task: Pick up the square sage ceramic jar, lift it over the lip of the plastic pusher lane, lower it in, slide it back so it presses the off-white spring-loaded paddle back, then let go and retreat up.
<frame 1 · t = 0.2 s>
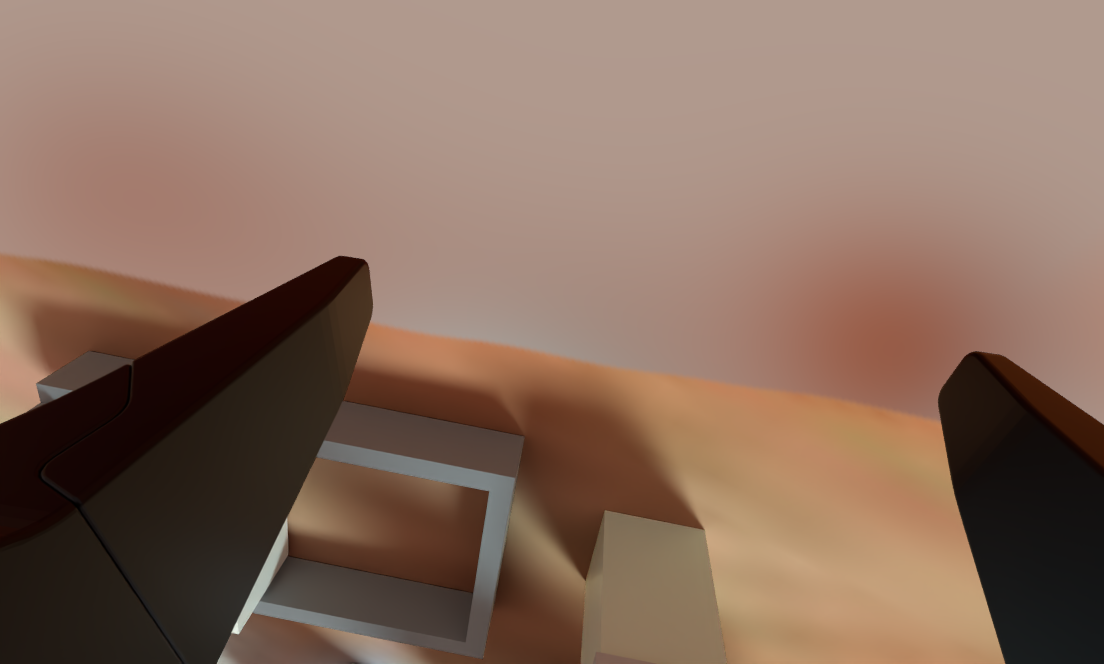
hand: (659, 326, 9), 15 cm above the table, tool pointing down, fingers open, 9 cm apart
sage jar: (642, 556, 32), on the table
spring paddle: (184, 509, 30), point 3 cm above the table, slide at 0.0 cm
pusher lane: (307, 490, 32), on the table
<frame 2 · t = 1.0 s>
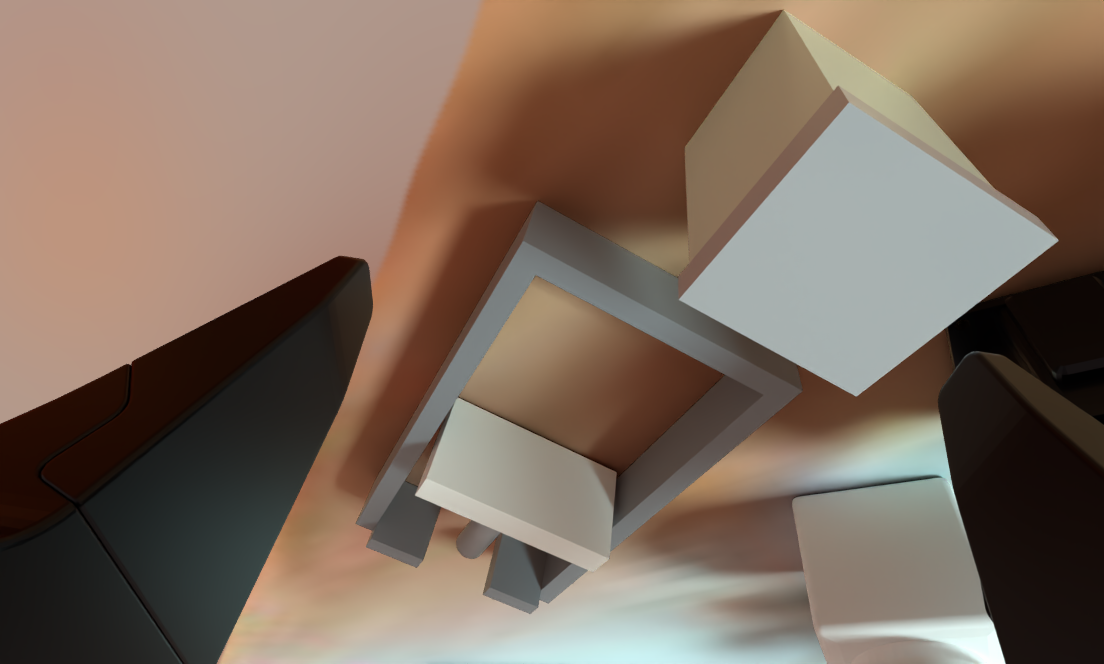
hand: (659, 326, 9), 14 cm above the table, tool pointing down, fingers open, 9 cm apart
sage jar: (792, 123, 21), on the table
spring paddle: (498, 512, 32), point 3 cm above the table, slide at 0.0 cm
medicine bottle: (874, 523, 33), on the table
pusher lane: (548, 421, 31), on the table
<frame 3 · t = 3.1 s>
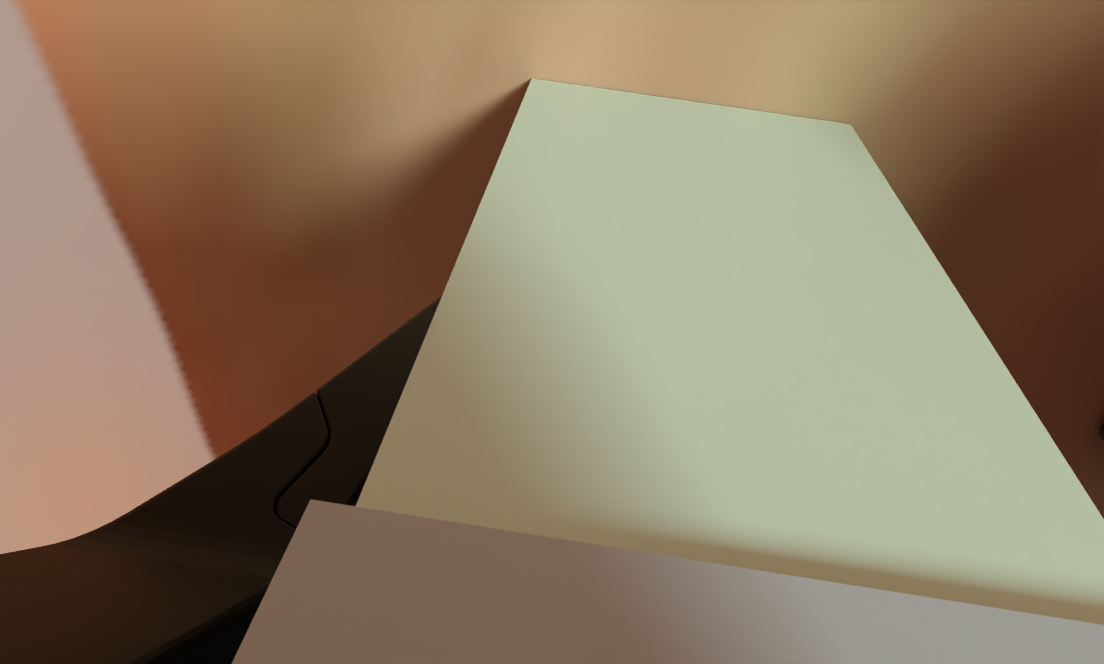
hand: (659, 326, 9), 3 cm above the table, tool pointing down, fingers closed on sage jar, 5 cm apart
sage jar: (656, 237, 11), on the table, touching gripper
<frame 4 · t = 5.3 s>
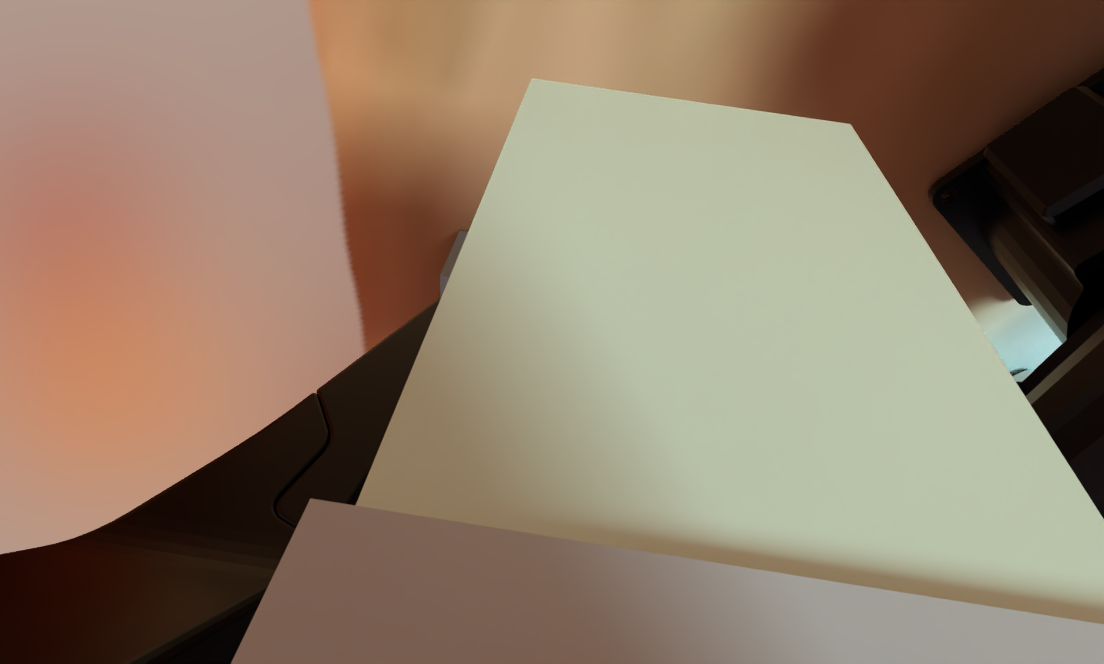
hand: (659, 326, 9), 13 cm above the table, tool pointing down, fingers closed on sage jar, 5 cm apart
sage jar: (656, 237, 11), point 10 cm above the table, touching gripper
pusher lane: (579, 433, 31), on the table
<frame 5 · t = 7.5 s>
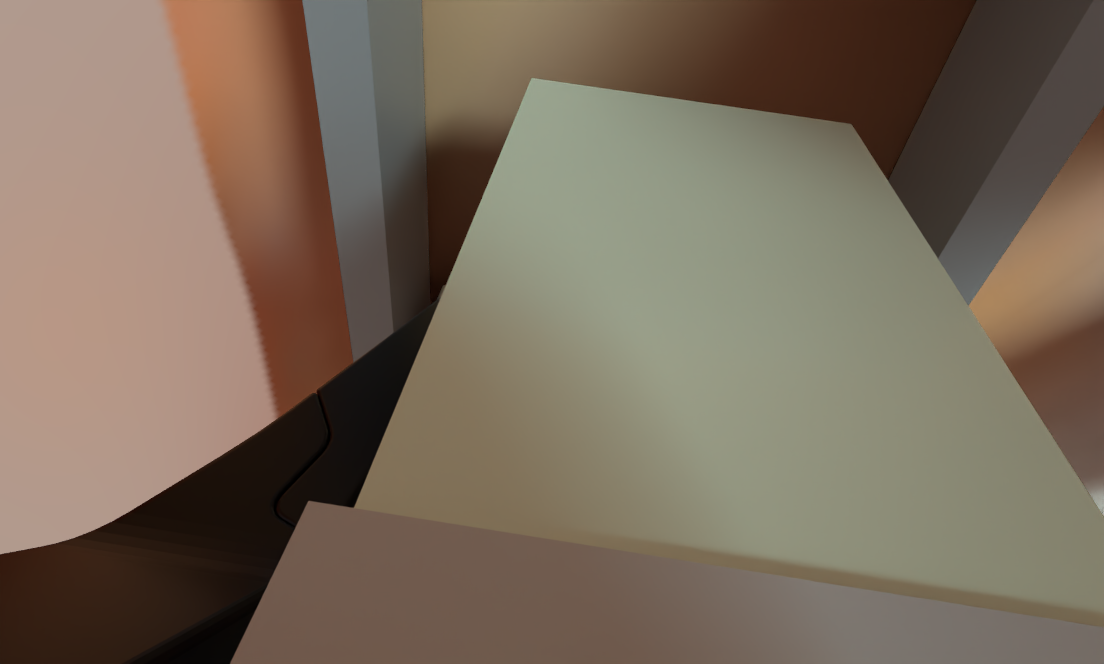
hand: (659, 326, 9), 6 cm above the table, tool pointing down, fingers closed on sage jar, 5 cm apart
sage jar: (656, 237, 11), point 3 cm above the table, touching gripper
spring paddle: (592, 479, 17), point 3 cm above the table, slide at 0.0 cm
pusher lane: (626, 275, 16), on the table
when the fingers open (3 cm above the table, at t = 9.7 s): sage jar drops 1 cm, resting in pusher lane.
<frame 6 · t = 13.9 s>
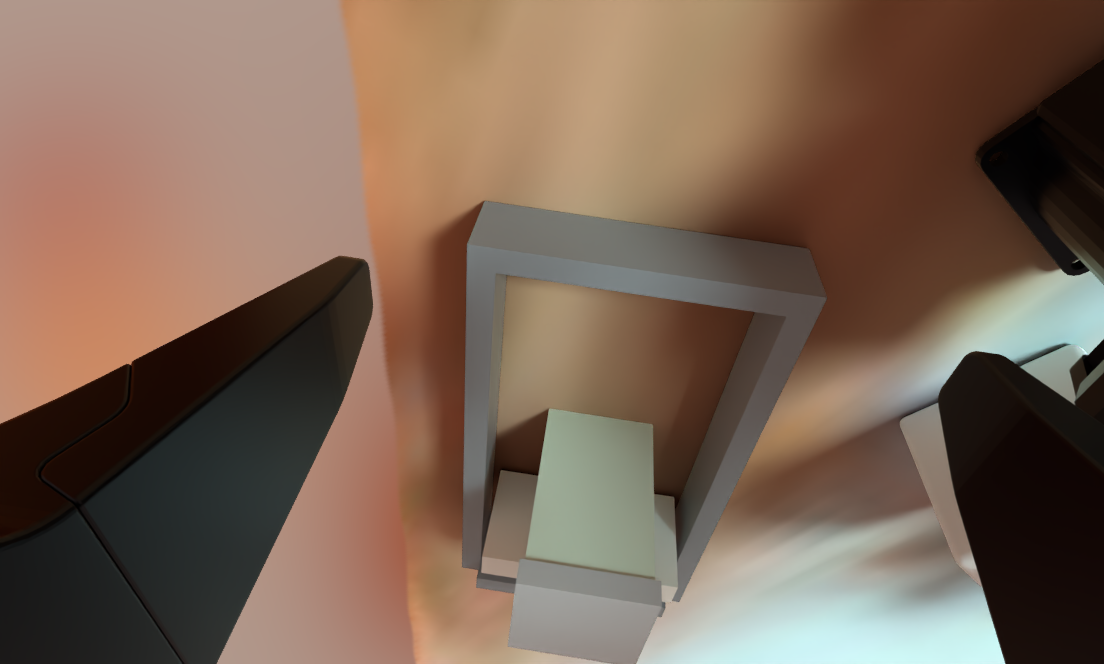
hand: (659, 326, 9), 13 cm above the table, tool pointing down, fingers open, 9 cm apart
sage jar: (593, 449, 32), resting in pusher lane
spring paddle: (574, 564, 34), point 3 cm above the table, slide at 4.1 cm
medicine bottle: (1013, 422, 28), on the table
pusher lane: (602, 415, 30), on the table
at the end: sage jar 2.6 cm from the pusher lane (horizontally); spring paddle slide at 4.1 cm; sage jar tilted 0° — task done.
